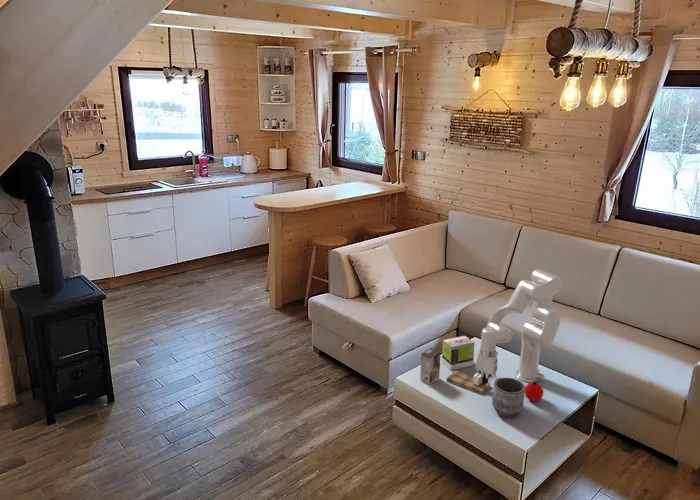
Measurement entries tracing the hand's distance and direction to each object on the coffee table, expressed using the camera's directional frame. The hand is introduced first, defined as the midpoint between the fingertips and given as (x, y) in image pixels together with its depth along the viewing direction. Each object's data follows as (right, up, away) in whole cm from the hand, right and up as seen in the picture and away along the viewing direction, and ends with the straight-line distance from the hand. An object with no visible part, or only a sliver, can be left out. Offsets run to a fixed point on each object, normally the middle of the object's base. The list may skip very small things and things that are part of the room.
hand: (484, 383), depth 268 cm
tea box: (-9, +4, +26) cm, 28 cm away
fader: (-3, -1, +3) cm, 4 cm away
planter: (+6, -10, -18) cm, 21 cm away
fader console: (-7, -2, +6) cm, 10 cm away
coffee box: (-27, -1, +10) cm, 29 cm away
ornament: (+22, -6, -7) cm, 24 cm away
